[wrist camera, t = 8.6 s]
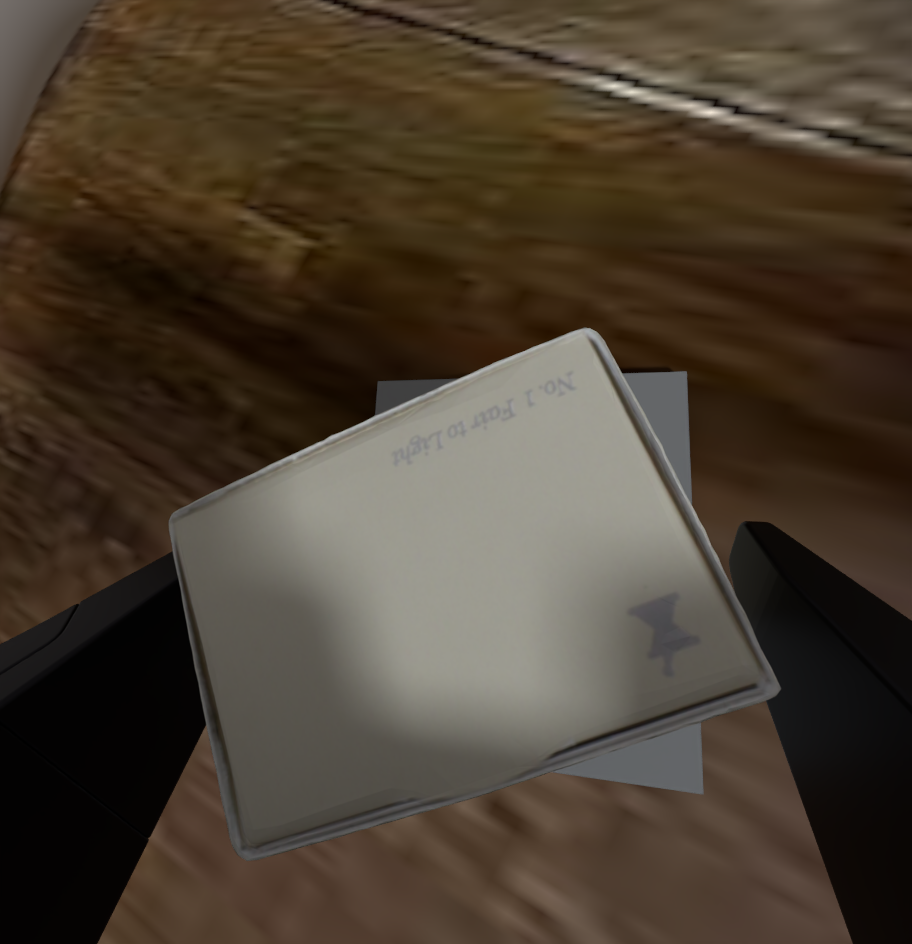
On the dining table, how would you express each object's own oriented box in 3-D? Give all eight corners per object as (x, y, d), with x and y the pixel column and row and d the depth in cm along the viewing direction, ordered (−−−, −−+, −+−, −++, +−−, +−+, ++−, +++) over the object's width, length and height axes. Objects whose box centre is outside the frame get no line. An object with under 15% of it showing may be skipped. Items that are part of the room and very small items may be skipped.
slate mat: (697, 785, 15) (703, 794, 14) (354, 735, 17) (348, 741, 17) (682, 377, 17) (686, 371, 17) (382, 386, 20) (377, 381, 19)
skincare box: (571, 476, 17) (611, 295, 5) (622, 593, 16) (822, 699, 4) (416, 537, 18) (150, 500, 6) (456, 652, 17) (224, 882, 5)
